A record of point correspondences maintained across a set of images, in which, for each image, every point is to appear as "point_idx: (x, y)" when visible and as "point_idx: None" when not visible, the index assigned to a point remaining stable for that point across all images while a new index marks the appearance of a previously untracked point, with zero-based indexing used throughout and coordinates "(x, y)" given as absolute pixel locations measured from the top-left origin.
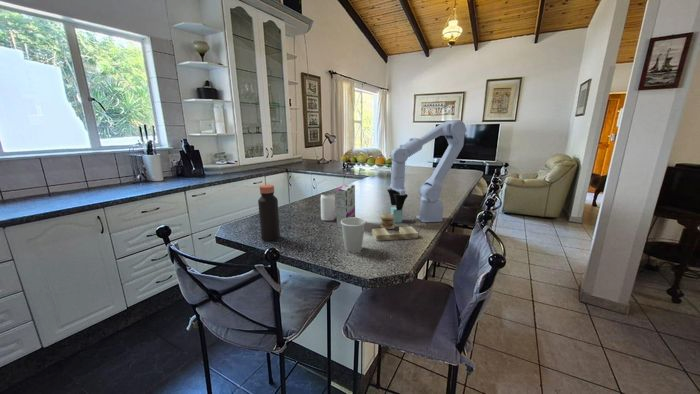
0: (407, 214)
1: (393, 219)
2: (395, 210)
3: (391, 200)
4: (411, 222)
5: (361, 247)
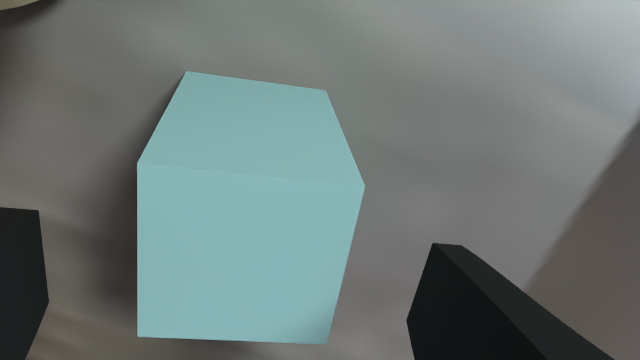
0: None
1: (178, 91)
2: (142, 194)
3: (491, 319)
4: None
5: None
